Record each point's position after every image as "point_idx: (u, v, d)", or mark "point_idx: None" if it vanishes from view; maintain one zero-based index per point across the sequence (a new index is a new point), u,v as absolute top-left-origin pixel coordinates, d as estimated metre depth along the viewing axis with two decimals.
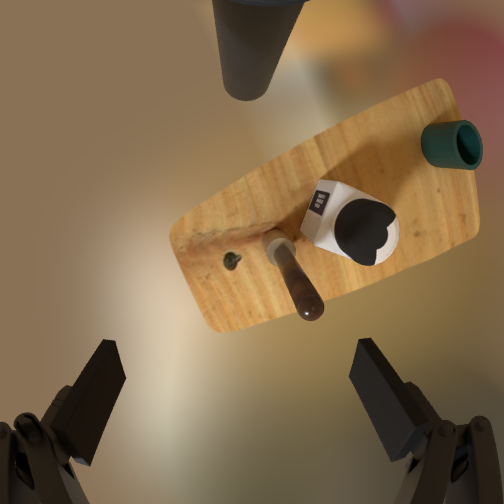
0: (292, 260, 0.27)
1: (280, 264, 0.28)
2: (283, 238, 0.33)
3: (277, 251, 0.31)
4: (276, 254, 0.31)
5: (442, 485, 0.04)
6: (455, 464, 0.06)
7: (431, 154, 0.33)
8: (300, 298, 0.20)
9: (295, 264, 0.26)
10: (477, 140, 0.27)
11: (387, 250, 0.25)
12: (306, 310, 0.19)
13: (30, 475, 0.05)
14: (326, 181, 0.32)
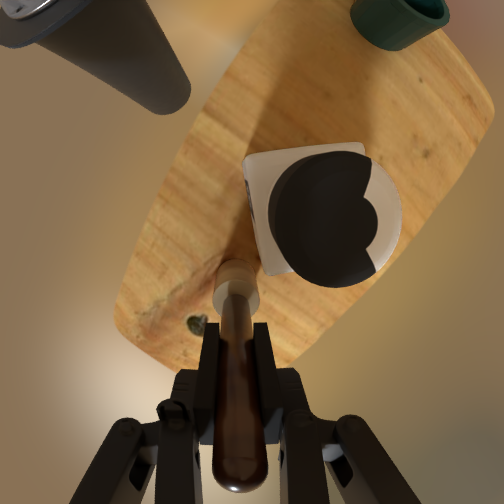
0: (229, 335, 0.15)
1: None
2: (227, 281, 0.21)
3: (222, 310, 0.19)
4: None
5: (319, 478, 0.06)
6: (339, 466, 0.08)
7: (380, 35, 0.18)
8: (212, 462, 0.08)
9: (230, 347, 0.14)
10: None
11: (387, 236, 0.12)
12: (224, 487, 0.07)
13: (142, 474, 0.07)
14: None
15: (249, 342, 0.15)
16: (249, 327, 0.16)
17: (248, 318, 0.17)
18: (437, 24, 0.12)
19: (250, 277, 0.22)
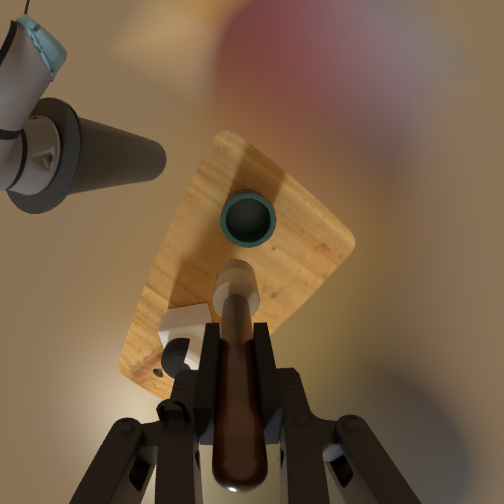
0: (229, 335, 0.15)
1: None
2: (227, 282, 0.21)
3: (222, 311, 0.19)
4: None
5: (319, 478, 0.06)
6: (339, 466, 0.08)
7: None
8: (212, 463, 0.08)
9: (230, 347, 0.14)
10: (261, 201, 0.36)
11: None
12: (224, 488, 0.07)
13: (142, 474, 0.07)
14: (162, 320, 0.44)
15: (249, 343, 0.15)
16: (249, 328, 0.16)
17: (248, 319, 0.17)
18: (257, 245, 0.37)
19: (250, 277, 0.22)
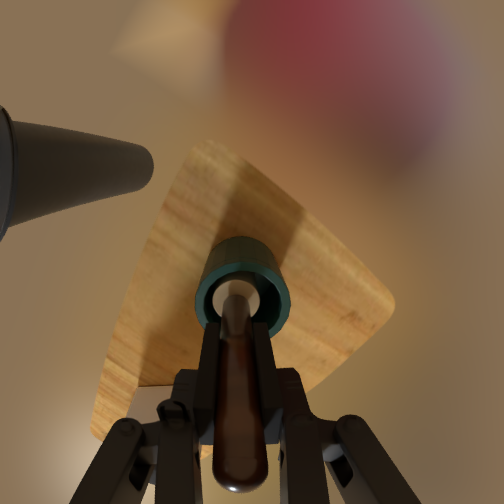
0: (229, 335, 0.15)
1: None
2: (227, 282, 0.21)
3: (222, 310, 0.19)
4: None
5: (319, 478, 0.06)
6: (339, 466, 0.08)
7: None
8: (212, 463, 0.08)
9: (230, 347, 0.14)
10: None
11: None
12: (225, 488, 0.07)
13: (142, 474, 0.07)
14: (130, 405, 0.29)
15: (249, 342, 0.15)
16: (249, 327, 0.16)
17: (248, 318, 0.17)
18: None
19: (250, 277, 0.22)
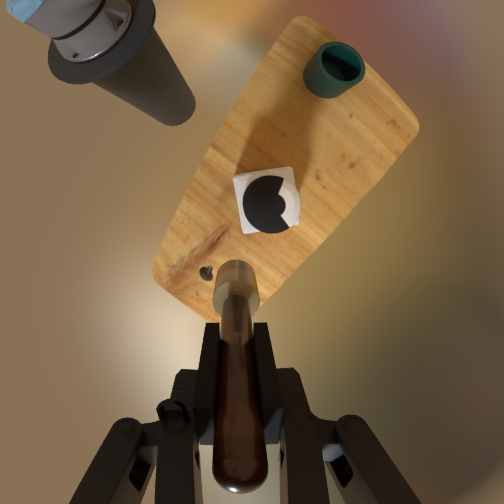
0: (229, 336, 0.15)
1: None
2: (227, 282, 0.21)
3: (222, 311, 0.19)
4: None
5: (319, 478, 0.06)
6: (339, 466, 0.08)
7: (319, 91, 0.36)
8: (212, 463, 0.08)
9: (230, 348, 0.14)
10: (350, 51, 0.29)
11: (291, 210, 0.30)
12: (225, 488, 0.07)
13: (142, 474, 0.07)
14: None
15: (249, 343, 0.15)
16: (249, 328, 0.16)
17: (248, 319, 0.17)
18: (351, 84, 0.30)
19: (250, 278, 0.22)
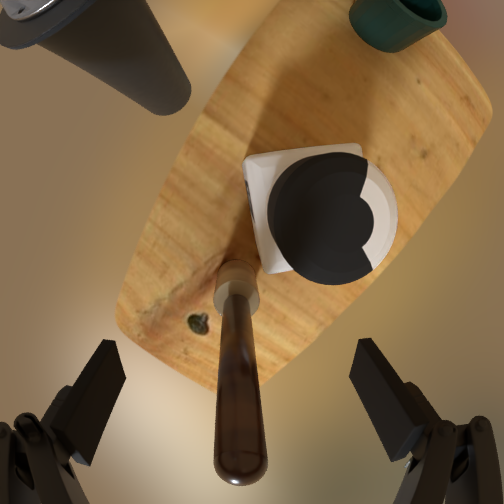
0: (230, 334, 0.15)
1: None
2: (227, 282, 0.21)
3: (223, 310, 0.19)
4: (222, 316, 0.19)
5: (442, 485, 0.04)
6: (455, 464, 0.06)
7: (378, 37, 0.18)
8: None
9: (231, 345, 0.14)
10: None
11: (383, 235, 0.12)
12: (225, 480, 0.07)
13: (30, 475, 0.05)
14: None
15: (249, 341, 0.15)
16: (249, 326, 0.17)
17: (248, 317, 0.18)
18: (434, 26, 0.13)
19: (250, 277, 0.22)
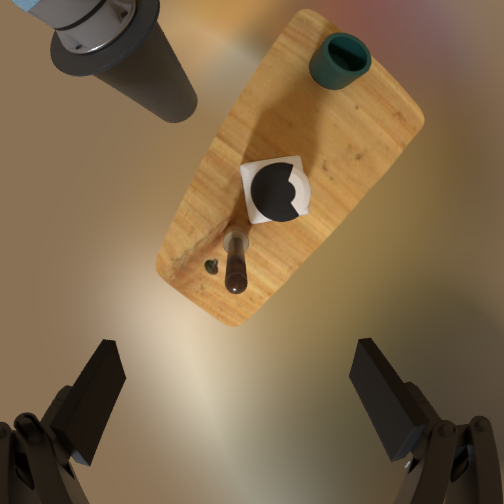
0: (232, 249, 0.32)
1: None
2: (231, 232, 0.38)
3: (228, 245, 0.36)
4: None
5: (442, 485, 0.04)
6: (455, 464, 0.06)
7: (325, 82, 0.35)
8: (225, 280, 0.25)
9: (232, 251, 0.31)
10: (356, 43, 0.28)
11: (301, 197, 0.29)
12: (229, 287, 0.24)
13: (30, 475, 0.05)
14: None
15: (242, 251, 0.32)
16: (242, 248, 0.33)
17: (242, 246, 0.34)
18: (358, 74, 0.29)
19: (244, 231, 0.39)
